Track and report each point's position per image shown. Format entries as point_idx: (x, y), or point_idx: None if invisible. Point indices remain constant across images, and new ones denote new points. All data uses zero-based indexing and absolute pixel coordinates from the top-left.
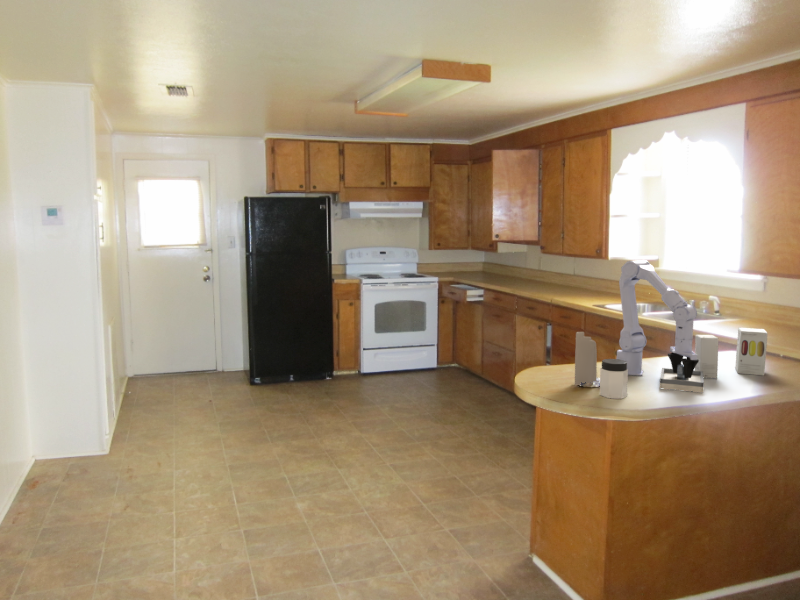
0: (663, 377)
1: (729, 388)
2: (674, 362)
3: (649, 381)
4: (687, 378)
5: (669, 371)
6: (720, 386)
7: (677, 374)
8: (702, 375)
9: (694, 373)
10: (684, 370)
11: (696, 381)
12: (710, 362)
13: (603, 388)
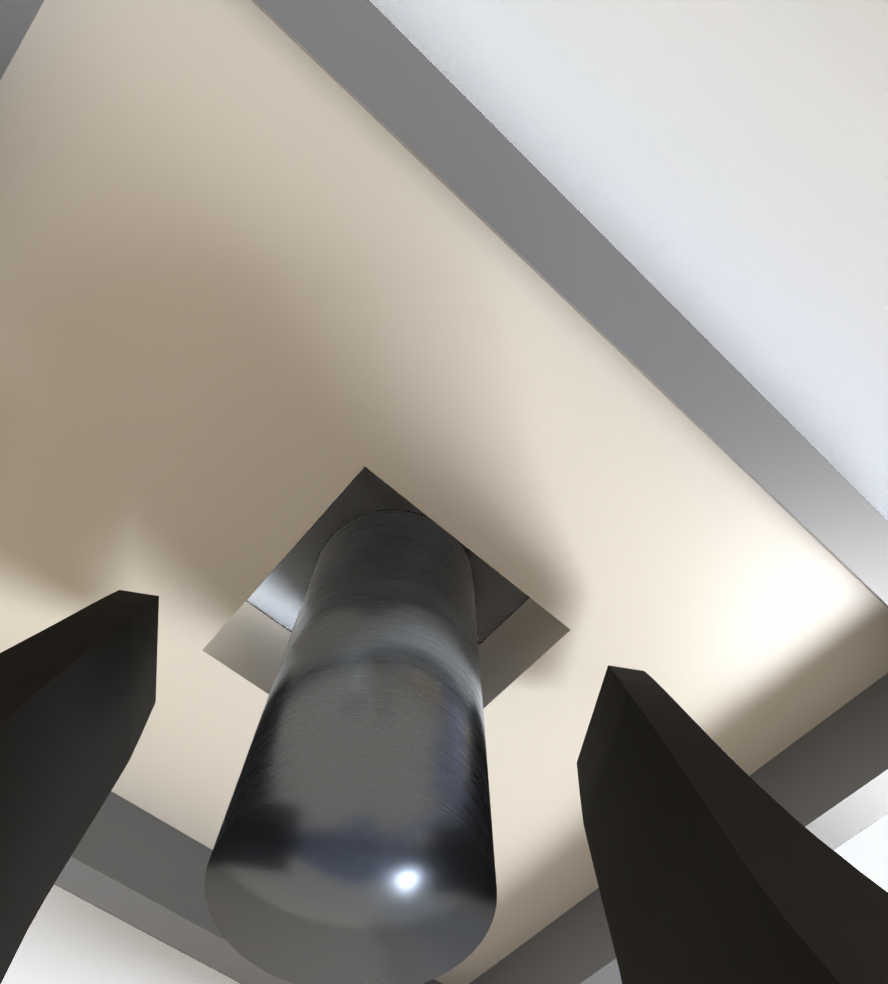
0: (591, 331)
1: (16, 966)
2: (707, 895)
3: (797, 91)
4: None
5: (857, 728)
6: (128, 942)
7: (406, 608)
8: (201, 951)
9: (519, 975)
10: (14, 674)
11: None
12: None
13: None
